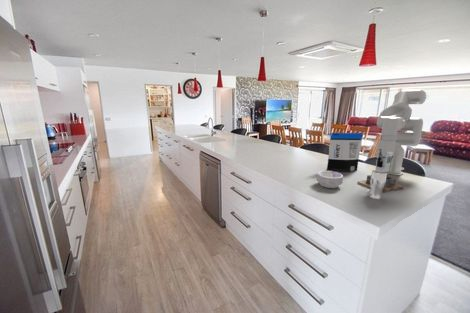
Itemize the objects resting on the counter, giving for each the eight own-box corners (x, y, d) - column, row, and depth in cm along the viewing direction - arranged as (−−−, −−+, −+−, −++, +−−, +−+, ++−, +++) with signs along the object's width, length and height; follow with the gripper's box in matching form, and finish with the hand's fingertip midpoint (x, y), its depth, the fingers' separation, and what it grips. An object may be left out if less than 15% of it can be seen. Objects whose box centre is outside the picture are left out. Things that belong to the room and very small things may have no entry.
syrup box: (384, 175, 130) (388, 152, 126) (374, 172, 135) (378, 150, 132) (389, 173, 132) (393, 151, 129) (379, 171, 137) (383, 149, 134)
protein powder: (360, 172, 165) (366, 133, 158) (329, 171, 165) (333, 133, 158) (353, 168, 174) (359, 132, 167) (324, 168, 174) (328, 132, 167)
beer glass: (364, 195, 121) (368, 170, 118) (376, 194, 122) (380, 169, 118) (373, 200, 114) (378, 174, 111) (385, 200, 115) (390, 173, 111)
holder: (378, 180, 146) (380, 172, 145) (403, 188, 132) (405, 179, 130) (357, 183, 140) (358, 174, 138) (380, 192, 125) (382, 183, 123)
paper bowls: (311, 183, 139) (312, 172, 137) (328, 180, 145) (329, 169, 143) (329, 191, 126) (330, 179, 124) (347, 188, 131) (349, 176, 130)
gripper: (391, 136, 135) (386, 164, 139) (372, 137, 129) (367, 166, 133) (404, 138, 128) (398, 166, 132) (384, 139, 122) (379, 169, 126)
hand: (383, 166), depth 132 cm, fingers closed on syrup box, 6 cm apart
